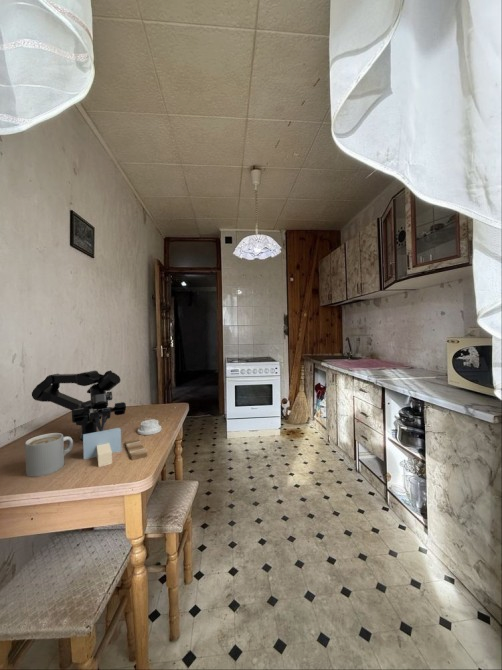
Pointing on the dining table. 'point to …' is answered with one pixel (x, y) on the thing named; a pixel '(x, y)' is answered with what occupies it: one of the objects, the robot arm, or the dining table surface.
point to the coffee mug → (46, 454)
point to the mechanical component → (149, 427)
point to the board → (135, 449)
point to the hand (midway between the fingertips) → (101, 431)
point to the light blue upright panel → (102, 445)
